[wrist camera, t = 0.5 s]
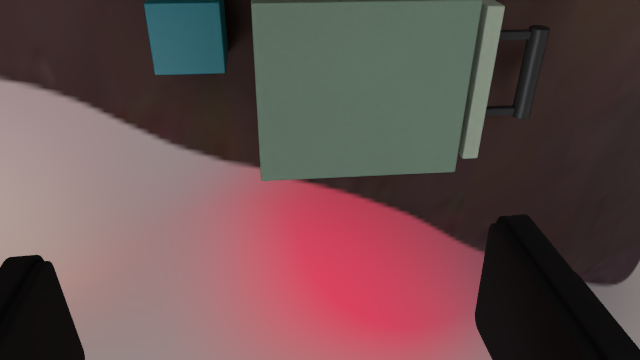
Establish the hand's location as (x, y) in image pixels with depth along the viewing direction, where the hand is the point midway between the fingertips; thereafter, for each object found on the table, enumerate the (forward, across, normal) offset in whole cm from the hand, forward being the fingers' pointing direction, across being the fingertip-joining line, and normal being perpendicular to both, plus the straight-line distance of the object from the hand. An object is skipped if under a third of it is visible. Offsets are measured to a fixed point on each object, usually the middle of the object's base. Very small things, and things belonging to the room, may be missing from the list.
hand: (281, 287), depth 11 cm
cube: (+34, +6, +2) cm, 34 cm away
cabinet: (+34, -6, +5) cm, 35 cm away
